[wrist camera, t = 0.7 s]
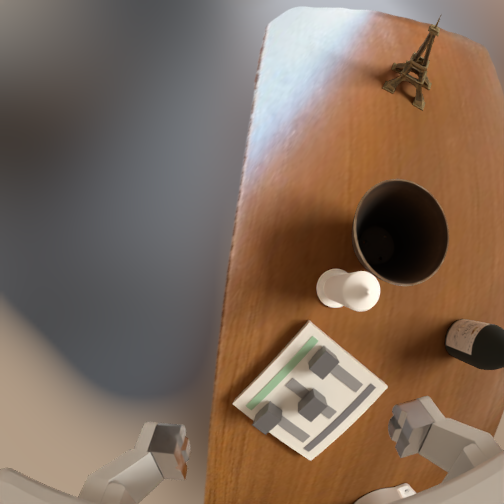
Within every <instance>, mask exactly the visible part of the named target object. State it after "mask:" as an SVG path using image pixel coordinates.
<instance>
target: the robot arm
mask: <svg viewBox="0 0 504 504" xmlns="http://www.w3.org/2000/svg"><path fill="white" fill-rule="evenodd" d="M392 412H393V414H394V416H393V417H392V418H391V419H390V421H389V424H388V431H389V435H390V437H391V439H392V440H393V441H395V442H397V443H396V446H395V448H396V450H397V452H398V454H399V456H400V458H402V457H406V456H409V455H413V454H416V453H419V454H420V455H422V456H423V457H425V458H426V459H428V460H429V461H431V462H433V463H434V464H436V465H437V466H439V467H441V468H442V469H444V470H445V471H447V472H448V474H447V475H446V477H445V478H444V480H443V482H442V483H441V484H439V485H436V486H434V487H432V488H429V489H427V490H424V491H422V492H419V493H416V492H415V491H414V490H413V489H412V488H411V487H410V486H409V484H407V483H405V484H401V485H399V486H396V487H392V488H384V489H380V490H376V491H373V492H371V493H369V494H367V495H365V496H363V497H362V498H360V499H359V500H358V501H356V502H355V503H354V504H504V450H502V449H501V448H500V446H499V445H498V443H497V442H496V441H495V440H494V438H493V437H492V436H491V434H490V433H487V432H484V431H481V430H479V429H476V428H473V427H471V426H468V425H466V424H463V423H460V422H458V421H455V420H453V419H450V418H445V417H444V416H443V414H442V413H441V412H440V410H439V409H438V408H437V406H436V405H435V404H434V402H433V401H432V400H431V398H430V397H429V396H425V397H421V398H418V399H414V400H411V401H407V402H404V403H400V404H396V405H395V406H394V407H393V411H392ZM185 434H186V429H185V426H184V425H177V424H165V423H155V422H145V424H144V425H143V427H142V430H141V432H140V435H139V437H138V440H137V442H136V445H135V447H134V450H132V449H130V450H129V451H127V452H125V453H124V454H122V455H121V456H119V457H118V458H116V459H114V460H113V461H111V462H110V463H108V464H106V465H105V466H103V467H102V468H100V469H98V470H97V471H95V472H93V473H92V474H90V475H88V478H87V480H86V482H85V484H84V486H83V488H82V490H81V492H80V494H79V496H78V497H75V496H73V495H70V494H67V493H64V492H62V491H59V490H57V489H55V488H52V487H50V486H47V485H45V484H43V483H41V482H38V481H36V480H34V479H32V478H30V477H28V476H26V475H24V474H22V473H20V472H18V471H16V470H13V469H11V468H3V469H0V504H138V503H139V502H140V501H142V500H143V499H144V498H145V497H146V496H147V495H148V494H149V493H150V492H151V491H152V490H154V489H155V488H156V487H157V486H158V485H159V484H160V483H161V482H162V481H163V480H164V479H174V480H185V477H186V473H187V465H186V462H187V461H188V460H189V458H190V442H189V439H188V438H187V437H186V436H185Z"/></svg>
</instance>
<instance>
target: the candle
mask: <svg viewBox="0 0 504 504" xmlns="http://www.w3.org/2000/svg"><path fill="white" fill-rule="evenodd" d="M316 291H317V295H318V297H319V299H320V301H321V302H322V303H323V304H325V305H326V306H328V307H332V308H339V307H342V306H346V307H348V308H350V309H352V310H355V311H366V310H369V309H370V308H372V307H373V306H374V305H375V304H376V303H377V301H378V299H379V296H380V285H379V283H378V281H377V279H376V278H375V277H374V276H373V275H372V274H371V273H369V272H365V271H357V272H352V273H347V272H346V271H344V270H342V269H330V270H328V271H326V272H324V273H323V274H322V275H321V276H320V278H319V280H318V282H317V286H316Z"/></svg>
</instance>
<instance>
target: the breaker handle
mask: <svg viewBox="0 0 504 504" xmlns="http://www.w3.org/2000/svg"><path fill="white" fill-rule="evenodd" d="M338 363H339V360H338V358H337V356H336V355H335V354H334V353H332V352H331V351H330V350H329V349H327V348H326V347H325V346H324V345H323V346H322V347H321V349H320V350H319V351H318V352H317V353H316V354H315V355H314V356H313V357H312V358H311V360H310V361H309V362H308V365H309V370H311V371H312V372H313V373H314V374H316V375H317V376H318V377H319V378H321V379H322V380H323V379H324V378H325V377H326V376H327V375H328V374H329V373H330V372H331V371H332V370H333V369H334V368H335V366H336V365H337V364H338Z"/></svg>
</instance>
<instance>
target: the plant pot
mask: <svg viewBox="0 0 504 504" xmlns="http://www.w3.org/2000/svg"><path fill="white" fill-rule="evenodd" d="M384 236H386V238H385V237H384ZM363 241H365V244H364V243H363ZM352 243H353V248H354V252H355V254H356V256H357V258H358V260H359V261H360V263H361V264H362V265H363V267H364V268H365V269H366V270H367V271H369V272H370V273H371V274H372V275H374V276H376V277H377V278H379V279H381V280H383V281H385V282H388V283H391V284H394V285H398V286H412V285H416V284H419V283H422V282H424V281H426V280H427V279H429V278H430V277H432V276H433V275H434V274H435V273H436V272H437V270H438V269H439V268H440V266H441V265H442V263H443V261H444V259H445V256H446V253H447V250H448V244H449V229H448V224H447V220H446V217H445V214H444V212H443V209H442V208H441V206H440V204H439V203H438V201H437V200H436V199H435V197H434V196H433V195H432V194H431V193H430V192H429V191H427V190H426V189H425V188H423V187H422V186H420V185H418V184H416V183H414V182H412V181H408V180H403V179H390V180H386V181H383V182H380V183H378V184H376V185H375V186H373V187H372V188H371V189H369V190H368V191H367V192H366V193H365V195H364V196H363V197H362V199H361V201H360V202H359V204H358V207H357V209H356V213H355V216H354V221H353V226H352ZM379 257H380V258H381V260H379Z"/></svg>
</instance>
